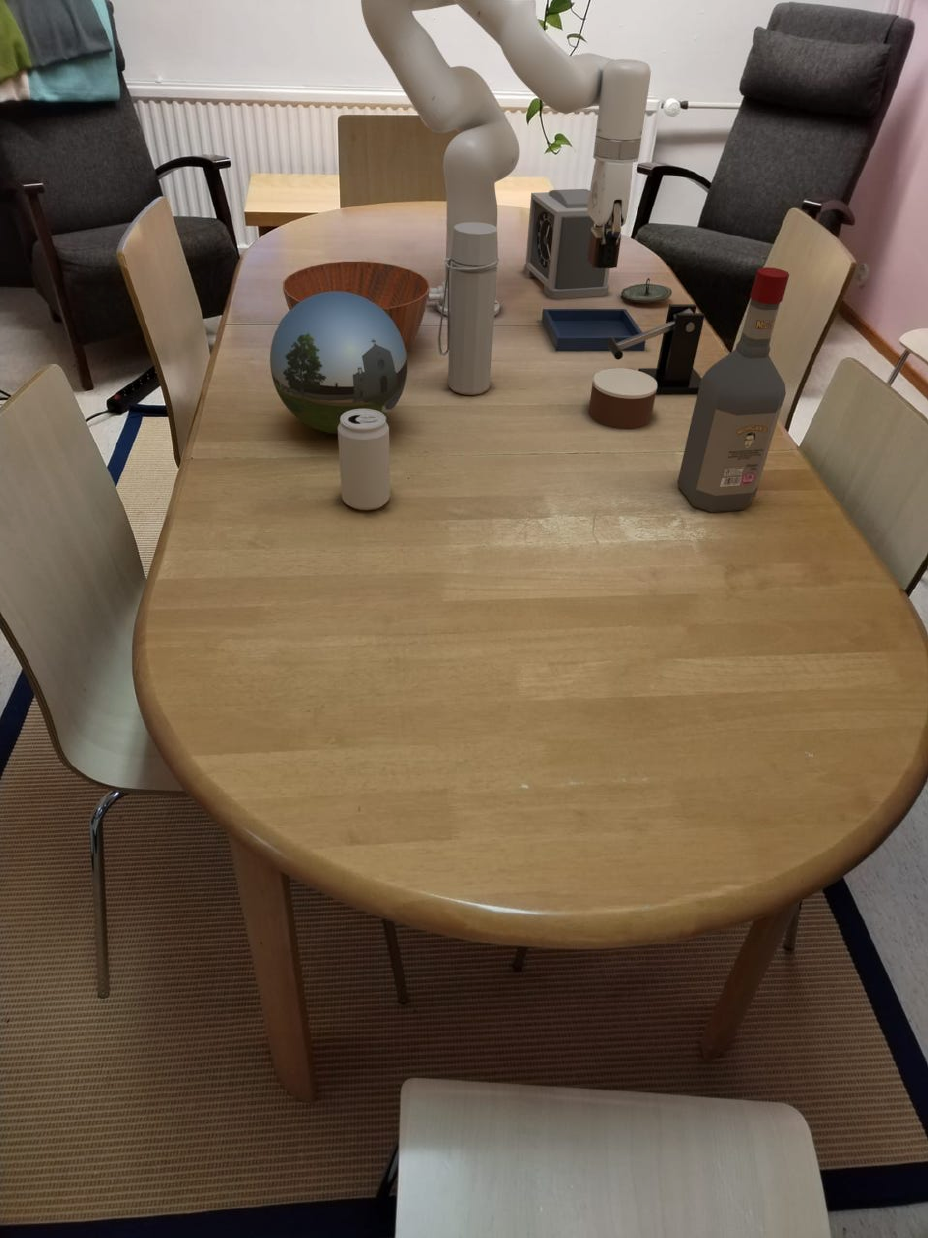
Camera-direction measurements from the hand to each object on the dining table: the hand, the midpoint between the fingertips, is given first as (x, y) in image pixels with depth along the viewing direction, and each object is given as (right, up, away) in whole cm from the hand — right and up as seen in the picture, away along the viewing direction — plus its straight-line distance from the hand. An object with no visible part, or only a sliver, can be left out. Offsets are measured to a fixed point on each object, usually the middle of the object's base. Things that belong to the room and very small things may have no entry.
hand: (601, 261), depth 152 cm
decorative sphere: (-43, -35, -23) cm, 61 cm away
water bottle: (-25, -26, -11) cm, 37 cm away
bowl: (-44, -16, 0) cm, 46 cm away
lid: (+13, +2, +25) cm, 29 cm away
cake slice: (0, 0, 0) cm, 0 cm away
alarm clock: (-3, +9, +32) cm, 33 cm away
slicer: (+11, -24, -7) cm, 27 cm away
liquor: (+10, -47, -35) cm, 59 cm away
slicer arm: (+6, -18, -12) cm, 23 cm away
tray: (-1, -10, +9) cm, 14 cm away
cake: (0, -31, -16) cm, 35 cm away
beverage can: (-38, -49, -39) cm, 73 cm away
